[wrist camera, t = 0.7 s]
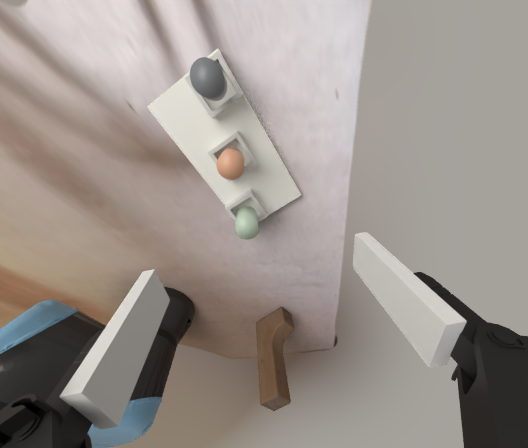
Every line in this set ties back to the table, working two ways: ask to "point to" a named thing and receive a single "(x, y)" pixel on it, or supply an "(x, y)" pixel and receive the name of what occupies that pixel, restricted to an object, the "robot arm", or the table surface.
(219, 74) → the charcoal plunger
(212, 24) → the table surface
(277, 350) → the wooden block
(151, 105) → the button board
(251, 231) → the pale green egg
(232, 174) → the terracotta plunger
